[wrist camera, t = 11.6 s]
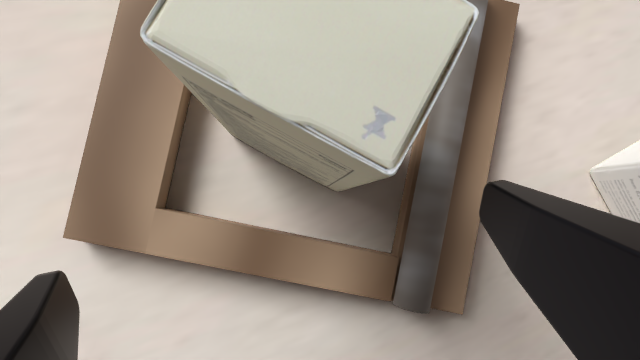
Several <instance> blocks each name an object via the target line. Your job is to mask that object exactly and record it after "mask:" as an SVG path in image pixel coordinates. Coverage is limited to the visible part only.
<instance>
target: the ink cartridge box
mask: <svg viewBox="0 0 640 360" xmlns="http://www.w3.org/2000/svg"><path fill="white" fill-rule="evenodd" d="M590 174H591V177H592V179H593V180H594V182H595V184H596V186H597V188H598V190H599V192H600V193H601V195H602V197H603V199H604V201H605V203H606V205H607V206H608V208H609V210H610V212H611V214H612V215H616V216H619V217H622V218H625V219H628V220H631V221H634V222H638V223H640V140H639V141H637V142H635V143H634V144H632V145H630V146H629V147H627V148H625V149H624V150H622V151H620V152H618V153H617V154H615V155H613V156H611V157H610V158H608V159H606V160H604V161H603V162H601V163H599V164H598V165H596V166H594V167H593V168H591V169H590Z"/></svg>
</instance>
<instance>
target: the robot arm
mask: <svg viewBox="0 0 640 360" xmlns="http://www.w3.org/2000/svg"><path fill="white" fill-rule="evenodd" d="M479 217H480V220H481V222H482V224H483V226H484V228H485V229H486V231H487V232H488V234H489V236H490V237H491V239H492V241H493V242H494V244H495V246H496V247H497V249H498V251H499V252H500V254H501V255H502V257H503V259H504V260H505V262H506V264H507V265H508V267H509V268H510V270H511V271H512V273H513V274H514V276H515V277H516V279H517V280H518V281H519V283H520V284H521V285H522V287H523V288H524V289H525V291H526V292H527V293H528V295H529V296H530V297H531V299H532V300H533V301H534V303H535V304H536V305H537V307H538V308H539V309H540V311H541V312H542V313H543V314H544V316H545V317H546V318H547V320H548V321H549V322H550V324H551V325H552V326H553V328H554V329H555V330H556V332H557V333H558V334H559V336H560V337H561V338H562V340H563V341H564V342H565V344H566V345H567V346H568V347H569V349H570V350H571V351H572V353H573V354H574V355H575V357H576V358H577V359H578V360H640V223H638V222H634V221H631V220H628V219H625V218H622V217H619V216H616V215H612V214H609V213H606V212H603V211H600V210H597V209H594V208H590V207H587V206H584V205H581V204H578V203H575V202H572V201H568V200H565V199H562V198H559V197H556V196H553V195H550V194H546V193H543V192H540V191H537V190H534V189H531V188H527V187H524V186H521V185H518V184H515V183H512V182H509V181H505V180H499V181H494V182H489V183H487V184H486V185H485V187H484V190H483V194H482V199H481V204H480V209H479ZM78 336H79V304H78V301H77V299H76V296H75V294H74V292H73V290H72V288H71V285H70V283H69V281H68V279H67V277H66V275H65V274H64V273H63V272H62V271H53V272H48V273H43V274H39V275H37V276H35V277H34V278H33V279H32V280H31V281H30V282H29V283H28V284H27V285H26V286H25V287H24V288H23V289H22V290H21V291H20V292H18V293H17V294H16V295H15V296H14V297H13V298H12V299H11V300H10V301H9V302H8V303H7V304H6V305H5V306H4V307H3V308H2V309H1V310H0V360H77V359H78Z"/></svg>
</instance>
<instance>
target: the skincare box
mask: <svg viewBox="0 0 640 360" xmlns="http://www.w3.org/2000/svg"><path fill="white" fill-rule="evenodd" d="M478 16H479V11H478V9H477V7H476V6H474V5H473V4H472V3H470V2H468V1H467V0H157V2H156V3H155V5H154V7H153V8H152V10H151V11H150V13H149V15H148V16H147V18H146V19H145V21H144V23H143V25H142V26H141V30H140V36H141V38H142V39H143V41H144V43H145V44H146V45H147V46H148V47H149V48H150V49H151V50H152V52H153V53H154V54H155V55H156V56H157V57H158V58H159V59H160V60H161V61H162V62H163V63H164V64H165V65H166V66H167V67H168V68H169V69H170V70H171V71H172V72H173V73H174V75H175V76H176V77H177V78H178V79H179V80H180V81H181V82H182V83H183V84H184V85H185V86H186V87H187V88H188V89H189V90H190V92H191V93H192V94H193V95H194V96H195V97H196V98H197V99H198V100H199V101H200V102H201V103H202V104H203V105H204V106H205V107H206V108H207V109H208V110H209V111H210V112H211V114H212V115H213V116H214V117H215V118H216V119H217V120H218V121H219V122H220V123H221V124H222V125H223V126H224V127H225V128H226V129H227V131H228V132H229V133H230V134H231V135H233V136H234V137H236V138H238V139H239V140H241V141H243V142H244V143H246V144H248V145H250V146H251V147H253V148H255V149H257V150H258V151H260V152H262V153H264V154H265V155H267V156H269V157H271V158H273V159H274V160H276V161H278V162H280V163H282V164H284V165H286V166H287V167H289V168H291V169H293V170H295V171H297V172H299V173H301V174H302V175H304V176H306V177H308V178H310V179H312V180H314V181H316V182H318V183H320V184H322V185H324V186H326V187H328V188H330V189H332V190H334V191H336V192H340V191H343V190H346V189H350V188H353V187H356V186H360V185H364V184H368V183H371V182H374V181H377V180H381V179H384V178H388V177H391V176H394V175H395V173H396V172H397V171H398V169H399V167H400V165H401V163H402V161H403V160H404V158H405V156H406V154H407V153H408V151H409V149H410V147H411V146H412V144H413V142H414V141H415V139H416V137H417V135H418V133H419V132H420V130H421V128H422V126H423V124H424V123H425V121H426V119H427V117H428V115H429V113H430V112H431V110H432V108H433V106H434V104H435V102H436V101H437V99H438V97H439V95H440V93H441V91H442V90H443V88H444V86H445V84H446V82H447V80H448V78H449V76H450V74H451V72H452V70H453V68H454V66H455V64H456V62H457V61H458V59H459V57H460V55H461V53H462V51H463V49H464V47H465V44H466V42H467V40H468V38H469V36H470V33H471V31H472V29H473V27H474V25H475V23H476V21H477V19H478Z"/></svg>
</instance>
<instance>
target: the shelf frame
mask: <svg viewBox="0 0 640 360" xmlns="http://www.w3.org/2000/svg"><path fill="white" fill-rule="evenodd" d="M467 1H468V2H470V3H472V4H473V5H474V6H476V7H477V9H478V11H479V16H478V19H477V21H476V23H475V25H474V27H473V29H472V31H471V33H470V36H469V38H468V40H467V42H466V44H465V47H464V49H463V51H462V53H461V55H460V57H459V59H458V61H457V62H456V64H455V66H454V68H453V70H452V72H451V74H450V76H449V78H448V80H447V82H446V84H445V86H444V88H443V90H442V91H441V93H440V95H439V97H438V99H437V101H436V102H435V104H434V106H433V108H432V110H431V112H430V113H429V115H428V117H427V119H426V121H425V123H424V124H423V126H422V128H421V130H420V132H419V133H418V135H417V137H416V139H415V141H414V142H413V145H412V150H411V155H410V161H409V166H408V171H407V176H406V181H405V186H404V191H403V196H402V201H401V207H400V212H399V217H398V222H397V227H396V232H395V237H394V242H393V247H392V252H391V253H386V252H381V251H376V250H371V249H366V248H361V247H356V246H352V245H347V244H342V243H337V242H332V241H327V240H322V239H317V238H312V237H307V236H302V235H297V234H292V233H287V232H282V231H278V230H273V229H268V228H263V227H258V226H253V225H248V224H243V223H238V222H233V221H228V220H223V219H218V218H213V217H209V216H204V215H199V214H194V213H189V212H184V211H179V210H174V209H169V208H165V206H166V201H167V197H168V192H169V188H170V184H171V179H172V175H173V171H174V166H175V162H176V157H177V153H178V149H179V144H180V140H181V136H182V131H183V127H184V122H185V118H186V114H187V109H188V105H189V100H190V96H191V92H190V90H189V89H188V88H187V87H186V86H185V85H184V84H183V83H182V82H181V81H180V80H179V79H178V78H177V77H176V76H175V75H174V73H173V72H172V71H171V70H170V69H169V68H168V67H167V66H166V65H165V64H164V63H163V62H162V61H161V60H160V59H159V58H158V57H157V56H156V55H155V54H154V53H153V52H152V50H151V49H150V48H149V47H148V46H147V45H146V44H145V43H144V41H143V39H142V38H141V36H140V30H141V26H142V25H143V23H144V21H145V19H146V18H147V16H148V15H149V13H150V11H151V10H152V8H153V7H154V5H155V3H156V2H157V0H120V4H119V8H118V12H117V16H116V20H115V24H114V28H113V33H112V37H111V41H110V45H109V49H108V53H107V57H106V62H105V66H104V70H103V74H102V78H101V82H100V86H99V91H98V95H97V99H96V103H95V107H94V111H93V115H92V119H91V124H90V128H89V132H88V136H87V140H86V144H85V148H84V153H83V157H82V161H81V165H80V169H79V173H78V177H77V182H76V186H75V190H74V194H73V198H72V202H71V206H70V211H69V215H68V219H67V223H66V227H65V231H64V235H63V238H67V239H72V240H78V241H83V242H88V243H93V244H98V245H103V246H108V247H113V248H119V249H124V250H129V251H134V252H139V253H144V254H149V255H154V256H160V257H165V258H170V259H175V260H180V261H185V262H190V263H195V264H200V265H206V266H211V267H216V268H221V269H226V270H231V271H236V272H241V273H247V274H252V275H257V276H262V277H267V278H272V279H277V280H282V281H287V282H293V283H298V284H303V285H308V286H313V287H318V288H323V289H328V290H334V291H339V292H344V293H349V294H354V295H359V296H364V297H369V298H375V299H380V300H385V301H390V302H391V301H393V304H394V305H395V306H397V307H399V308H402V309H405V310H408V311H412V312H417V313H424V314H427V313H429V312H430V308H432V309H437V310H442V311H447V312H452V313H458V314H463V309H464V303H465V298H466V292H467V287H468V281H469V276H470V271H471V265H472V260H473V254H474V249H475V244H476V238H477V233H478V227H479V222H480V217H479V209H480V204H481V199H482V194H483V190H484V187H485V185H486V184H487V178H488V173H489V168H490V162H491V157H492V151H493V146H494V141H495V135H496V130H497V124H498V119H499V113H500V108H501V103H502V97H503V92H504V86H505V81H506V76H507V70H508V65H509V59H510V54H511V48H512V43H513V38H514V32H515V27H516V21H517V16H518V10H519V5H520V4H517V3H513V2H509V1H505V0H467Z"/></svg>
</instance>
